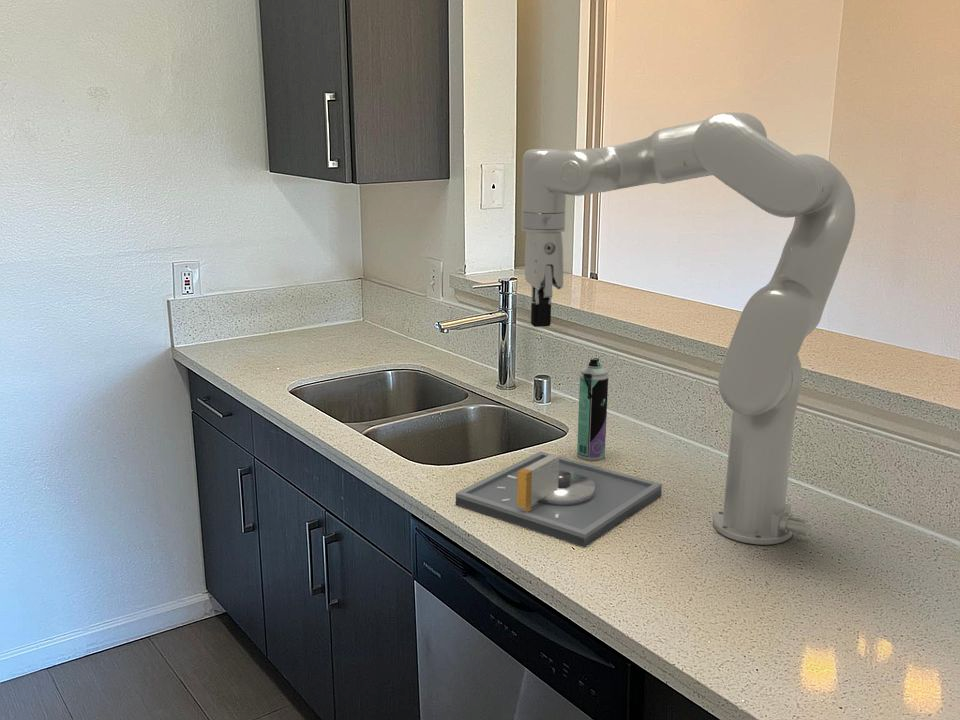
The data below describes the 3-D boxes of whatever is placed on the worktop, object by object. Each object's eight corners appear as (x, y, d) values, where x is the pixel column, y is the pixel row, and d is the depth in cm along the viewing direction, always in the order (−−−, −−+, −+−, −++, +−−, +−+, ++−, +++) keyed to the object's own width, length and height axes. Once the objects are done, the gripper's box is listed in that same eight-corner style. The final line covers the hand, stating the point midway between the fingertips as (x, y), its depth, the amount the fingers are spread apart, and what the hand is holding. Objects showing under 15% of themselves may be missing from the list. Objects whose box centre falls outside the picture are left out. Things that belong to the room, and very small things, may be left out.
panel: (661, 495, 163) (662, 483, 163) (584, 547, 144) (585, 534, 143) (540, 462, 179) (540, 451, 178) (455, 504, 159) (455, 492, 158)
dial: (549, 473, 169) (550, 435, 167) (607, 489, 162) (609, 449, 160) (491, 505, 155) (492, 464, 153) (552, 524, 148) (553, 481, 146)
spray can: (603, 462, 179) (608, 363, 174) (575, 459, 180) (579, 361, 175) (605, 452, 184) (610, 356, 179) (578, 450, 185) (582, 354, 180)
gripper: (576, 226, 152) (572, 334, 157) (553, 217, 167) (550, 316, 171) (532, 227, 151) (529, 335, 156) (512, 217, 165) (511, 317, 170)
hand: (540, 325), depth 164 cm, fingers closed
